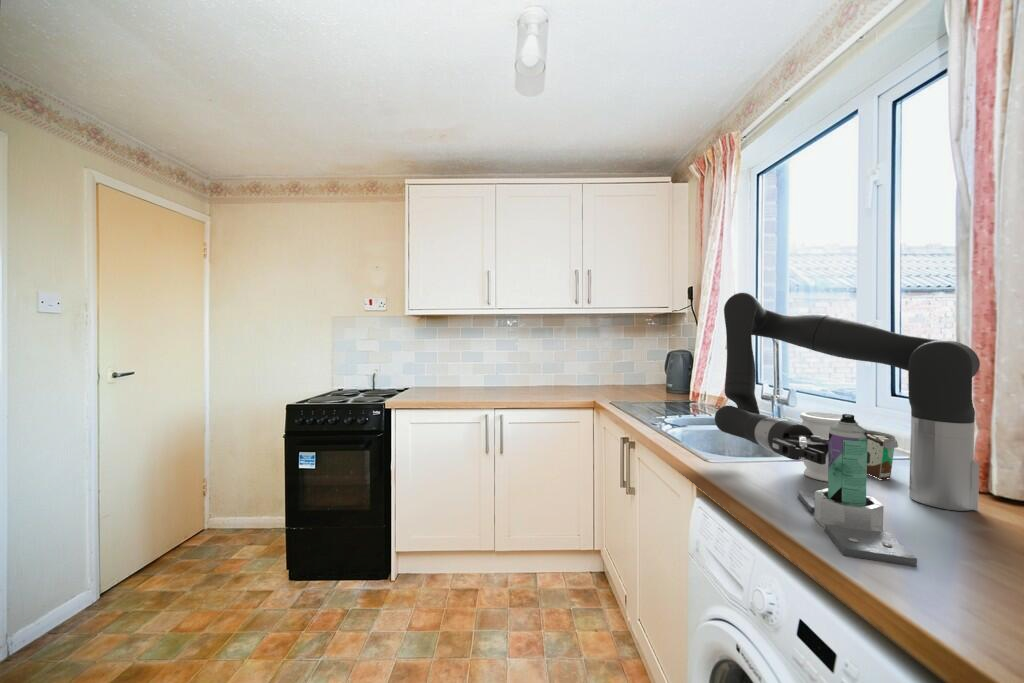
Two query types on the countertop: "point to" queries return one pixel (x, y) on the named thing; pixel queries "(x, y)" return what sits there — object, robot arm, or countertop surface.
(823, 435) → the jar
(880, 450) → the food container
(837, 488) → the spray can
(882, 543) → the grey octagonal flange mount
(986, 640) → the countertop surface
